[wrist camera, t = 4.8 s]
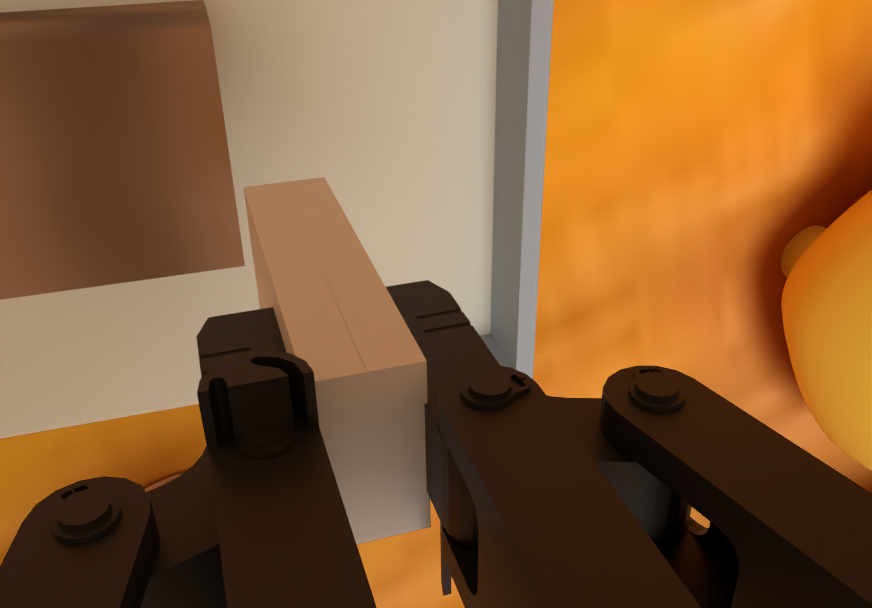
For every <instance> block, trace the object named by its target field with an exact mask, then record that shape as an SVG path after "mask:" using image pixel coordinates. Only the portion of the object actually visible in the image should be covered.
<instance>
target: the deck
mask: <svg viewBox="0 0 872 608" xmlns="http://www.w3.org/2000/svg"><path fill="white" fill-rule="evenodd" d="M178 1H194V0H0V13H2V12H18V11H34V10H50V9H66V8H82V7H98V6H114V5H130V4H146V3H162V2H178ZM204 4H205V7H206V11H207V14H208V18H209V21H210V25H211V30H212V37H213V44H214V51H215V58H216V65H217V72H218V79H219V86H220V93H221V100H222V107H223V114H224V122H225V129H226V136H227V143H228V150H229V157H230V164H231V171H232V178H233V185H234V192H235V199H236V206H237V213H238V220H239V227H240V234H241V241H242V248H243V255H244V262H245V266H241V267H234V268H227V269H220V270H212V271H205V272H198V273H191V274H183V275H176V276H169V277H162V278H154V279H147V280H140V281H133V282H125V283H118V284H111V285H104V286H96V287H89V288H82V289H75V290H67V291H60V292H53V293H46V294H38V295H31V296H24V297H17V298H9V299H2V300H0V439H1V438H7V437H13V436H18V435H24V434H30V433H36V432H41V431H47V430H53V429H58V428H64V427H70V426H76V425H81V424H87V423H93V422H99V421H104V420H110V419H116V418H121V417H127V416H133V415H139V414H144V413H150V412H156V411H162V410H167V409H173V408H179V407H184V406H190V405H196V404H199V402H198V396H197V390H198V386H199V381H200V379H201V370H200V362H199V354H198V346H197V337H196V336H197V335H198V333H199V332H200V330H201V328H202V327H203V325H204V323H205V322H206V320H207V319H208V317H214V316H220V315H227V314H233V313H239V312H245V311H251V310H258V309H260V305H259V298H258V291H257V283H256V276H255V269H254V261H253V254H252V247H251V240H250V232H249V225H248V218H247V210H246V203H245V196H244V188H243V187H247V186H256V185H264V184H272V183H280V182H288V181H296V180H304V179H312V178H321V177H325V179H326V181H327V183H328V184H329V186H330V188H331V190H332V192H333V193H334V195H335V197H336V199H337V201H338V202H339V204H340V206H341V208H342V210H343V211H344V213H345V215H346V217H347V218H348V220H349V222H350V224H351V226H352V227H353V229H354V231H355V233H356V235H357V236H358V238H359V240H360V242H361V244H362V245H363V247H364V249H365V251H366V253H367V254H368V256H369V258H370V260H371V262H372V263H373V265H374V267H375V269H376V271H377V272H378V274H379V276H380V278H381V280H382V281H383V283H384V285H385V287H387V286H393V285H399V284H406V283H412V282H418V281H424V280H429V281H431V282H432V283H434V284H436V285H438V286H439V287H441V288H443V289H445V290H447V291H448V292H450V293H451V295H452V296H453V298H454V299H455V301H456V302H457V303H458V305H459V306H460V308H461V311H462V312H464V314H465V315H466V317H467V318H468V319H469V321H470V324H471V326H472V325H473V327H474V328H475V330H476V331H477V332H478V334H479V335H480V337H481V338H482V340H483V341H484V343H485V344H486V345H487V347H488V348H489V350H490V351H491V353H492V354H493V356H494V357H495V359H496V360H497V361H498V363H499V364H500V366H505V367H511V368H513V369H516V370H518V371H520V372H523V373H525V374H527V375H528V376H529V377H530V378H532V379H533V364H534V346H535V328H536V310H537V291H538V273H539V255H540V237H541V219H542V201H543V182H544V164H545V146H546V128H547V110H548V91H549V73H550V55H551V37H552V19H553V0H204Z"/></svg>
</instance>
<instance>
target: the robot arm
mask: <svg viewBox="0 0 872 608" xmlns="http://www.w3.org/2000/svg"><path fill="white" fill-rule="evenodd" d="M243 188H244V196H245V203H246V210H247V218H248V225H249V232H250V240H251V247H252V254H253V261H254V269H255V276H256V283H257V291H258V298H259V305H260V309H258V310H251V311H245V312H239V313H233V314H227V315H220V316H214V317H208V319H207V320H206V322H205V323H204V325H203V327H202V328H201V330H200V332H199V333H198V335H197V336H196V337H197V346H198V354H199V362H200V370H201V379H200V381H199V386H198V390H197V396H198V402H199V407H200V412H201V417H202V423H203V428H204V433H205V438H206V444H207V446H206V448H205V450H204V453H203V455H202V456H201V457H200V458H199V459H198V461H197V462H196V463H195V464H194V465H193V466H192V467H191V468H190V469H188V470H187V471H186V472H184V473H183V474H182V475H180V476H179V477H177V478H175V479H173V480H171V481H169V482H167V483H166V484H164V485H161V486H159V487H157V488H154V489H152V490H150V491H148V492H146V491H145V490H144V489H143V487H142V486H141V485H139V484H137V483H134V482H132V481H130V480H128V479H126V478H115V477H99V478H93V479H87V480H82V481H78V482H76V483H73V484H71V485H68V486H66V487H64V488H61V489H59V490H56V491H55V492H53V493H52V494H51V495H49V496H48V497H46V498H45V499H44V500H42V501H41V502H39V503H38V504H37V505H35V507H34V508H33V509H32V511H31V512H30V513H29V514H28V516H27V517H26V518H25V520H24V521H23V522H22V524H21V526H20V528H19V530H18V532H17V534H16V536H15V538H14V540H13V542H12V544H11V546H10V548H9V550H8V552H7V554H6V556H5V558H4V560H3V562H2V564H1V566H0V608H376V605H375V602H374V598H373V595H372V592H371V589H370V586H369V583H368V579H367V576H366V573H365V570H364V567H363V564H362V560H361V557H360V554H359V551H358V548H357V544H361V543H365V542H369V541H373V540H378V539H382V538H386V537H390V536H394V535H398V534H403V533H407V532H411V531H415V530H419V529H424V528H428V527H431V520H430V499H431V501H432V503H433V505H434V508H435V510H436V512H437V514H438V517H439V519H440V530H441V583H442V590H443V595H447V594H451V577H452V578H453V580H454V583H455V585H456V587H457V590H458V592H459V594H460V597H461V599H462V601H463V604H464V606H465V608H872V493H870V492H868V491H867V490H865V489H864V488H862V487H861V486H859V485H858V484H856V483H855V482H853V481H851V480H850V479H848V478H847V477H845V476H844V475H842V474H841V473H839V472H837V471H836V470H834V469H833V468H831V467H830V466H828V465H827V464H825V463H824V462H822V461H820V460H819V459H817V458H816V457H814V456H813V455H811V454H810V453H808V452H807V451H805V450H803V449H802V448H800V447H799V446H797V445H796V444H794V443H793V442H791V441H790V440H788V439H786V438H785V437H783V436H782V435H780V434H779V433H777V432H776V431H774V430H772V429H771V428H769V427H768V426H766V425H765V424H763V423H762V422H760V421H759V420H757V419H755V418H754V417H752V416H751V415H749V414H748V413H746V412H745V411H743V410H742V409H740V408H738V407H737V406H735V405H734V404H732V403H731V402H729V401H728V400H726V399H724V398H723V397H721V396H720V395H718V394H717V393H715V392H714V391H712V390H711V389H709V388H707V387H706V386H704V385H703V384H701V383H700V382H698V381H697V380H695V379H694V378H691V377H689V376H687V375H685V374H683V373H681V372H679V371H677V370H672V369H668V368H663V367H659V366H634V367H630V368H626V369H621V370H619V371H618V372H616V373H614V374H613V375H611V376H610V377H608V379H607V381H606V383H605V385H604V387H603V393H602V398H562V397H551V396H547V395H545V393H544V392H543V390H542V389H541V388H540V386H539V385H538V384H537V383H536V382H535V381H534V380H533V379H532V378H530V377H529V376H528V375H527V374H525V373H523V372H520V371H518V370H516V369H513V368H511V367H505V366H500V364H499V363H498V361H497V360H496V359H495V357H494V356H493V354H492V353H491V351H490V350H489V348H488V347H487V345H486V344H485V343H484V341H483V340H482V338H481V337H480V335H479V334H478V332H477V331H476V330H475V328H474V327H473V325H472V326H471V324H470V321H469V319H468V318H467V317H466V315H465V314H464V312H462V311H461V308H460V306H459V305H458V303H457V302H456V301H455V299H454V298H453V296H452V295H451V293H450V292H448V291H447V290H445V289H443V288H441V287H439V286H438V285H436V284H434V283H432V282H431V281H429V280H424V281H418V282H412V283H406V284H399V285H393V286H387V287H385V285H384V283H383V281H382V280H381V278H380V276H379V274H378V272H377V271H376V269H375V267H374V265H373V263H372V262H371V260H370V258H369V256H368V254H367V253H366V251H365V249H364V247H363V245H362V244H361V242H360V240H359V238H358V236H357V235H356V233H355V231H354V229H353V227H352V226H351V224H350V222H349V220H348V218H347V217H346V215H345V213H344V211H343V210H342V208H341V206H340V204H339V202H338V201H337V199H336V197H335V195H334V193H333V192H332V190H331V188H330V186H329V184H328V183H327V181H326V179H325V177H321V178H312V179H304V180H296V181H288V182H280V183H272V184H264V185H256V186H247V187H243ZM691 507H693V508H694V509H696V510H697V511H698V512H699V513H700V514H702V515H703V516H704V517H705V518H707V519H708V520H709V521H710V526H709V528H705V527H703V526H702V525H700V524H698V523H697V522H696V521H695V520H693V519H692V518H691V517H690V512H691Z"/></svg>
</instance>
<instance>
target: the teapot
mask: <svg viewBox="0 0 872 608" xmlns="http://www.w3.org/2000/svg"><path fill="white" fill-rule="evenodd" d="M780 266H781V270H782V272H783V274H784V275H785V276H786V277H787V280H786V283H785V286H784V289H783V292H782V302H781V308H782V317H783V325H784V333H785V338H786V342H787V346H788V351H789V355H790V359H791V364H792V367H793V371H794V374H795V377H796V380H797V384H798V387H799V390H800V392H801V394H802V396H803V398H804V400H805V403H806V404H807V406H808V408H809V410H810V411H811V413H812V415H813V416H814V418H815V420H816V421H817V423H818V424H819V426H820V427H821V429H822V430H823V431H824V433H825V434H826V435H827V437H828V438H829V439H830V440H831V441H832V442H833V443H834V444H835V445H836V446H838V447H839V448H840V449H841V450H842V451H843V452H845V453H846V454H847V455H849V456H850V457H852V458H853V459H855V460H856V461H858V462H859V463H860V464H862V465H863V466H865V467H866V468H868V469H870V470H871V471H872V190H871V191H869V192H868V193H867V194H865V195H864V196H863V197H862V198H861V199H859V200H858V201H857V202H856V203H854V204H853V205H852V206H851V207H850V208H849V209H847V210H846V211H845V212H844V213H843V214H842V215H841V216H840V217H838V218H837V219H836V220H835V221H834V222H833V223H832V224H831V225H830V226H829V227H828V228H825V227H823V226H810V227H807V228H805V229H803V230H801V231H800V232H798V233H797V234H796V235H794V236H793V237H792V238H791V239H790V241H789V242H788V243H787V245H786V247H785V248H784V250H783V253H782V256H781V261H780Z"/></svg>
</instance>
